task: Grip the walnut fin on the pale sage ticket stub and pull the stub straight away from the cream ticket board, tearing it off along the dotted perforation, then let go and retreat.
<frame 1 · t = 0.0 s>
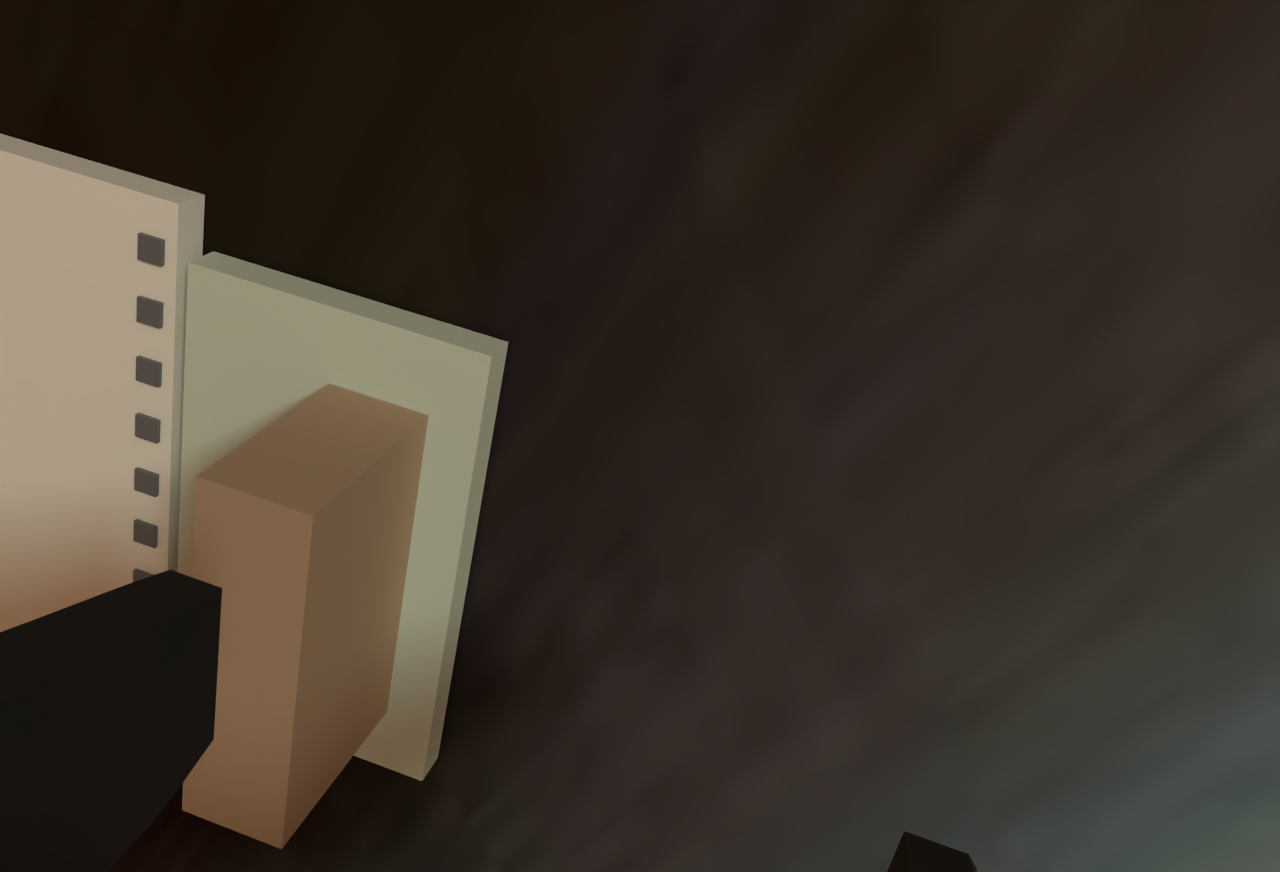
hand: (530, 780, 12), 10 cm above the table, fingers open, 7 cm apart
ticket board: (48, 422, 25), on the table
stub: (268, 583, 22), point 3 cm above the table, slide at 0.0 cm
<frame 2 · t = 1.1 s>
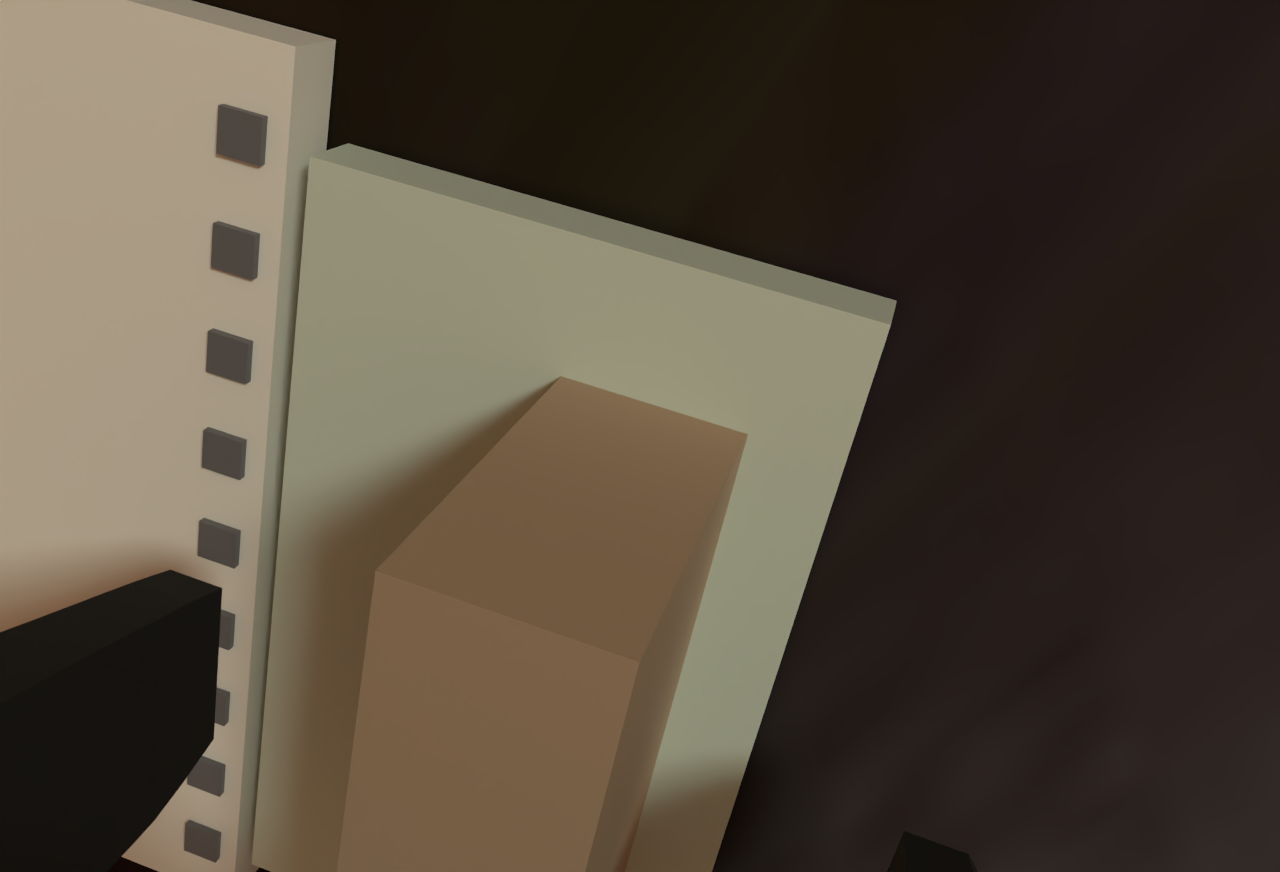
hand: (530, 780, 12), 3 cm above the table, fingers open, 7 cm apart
ticket board: (54, 442, 15), on the table
stub: (450, 734, 12), point 3 cm above the table, slide at 0.0 cm
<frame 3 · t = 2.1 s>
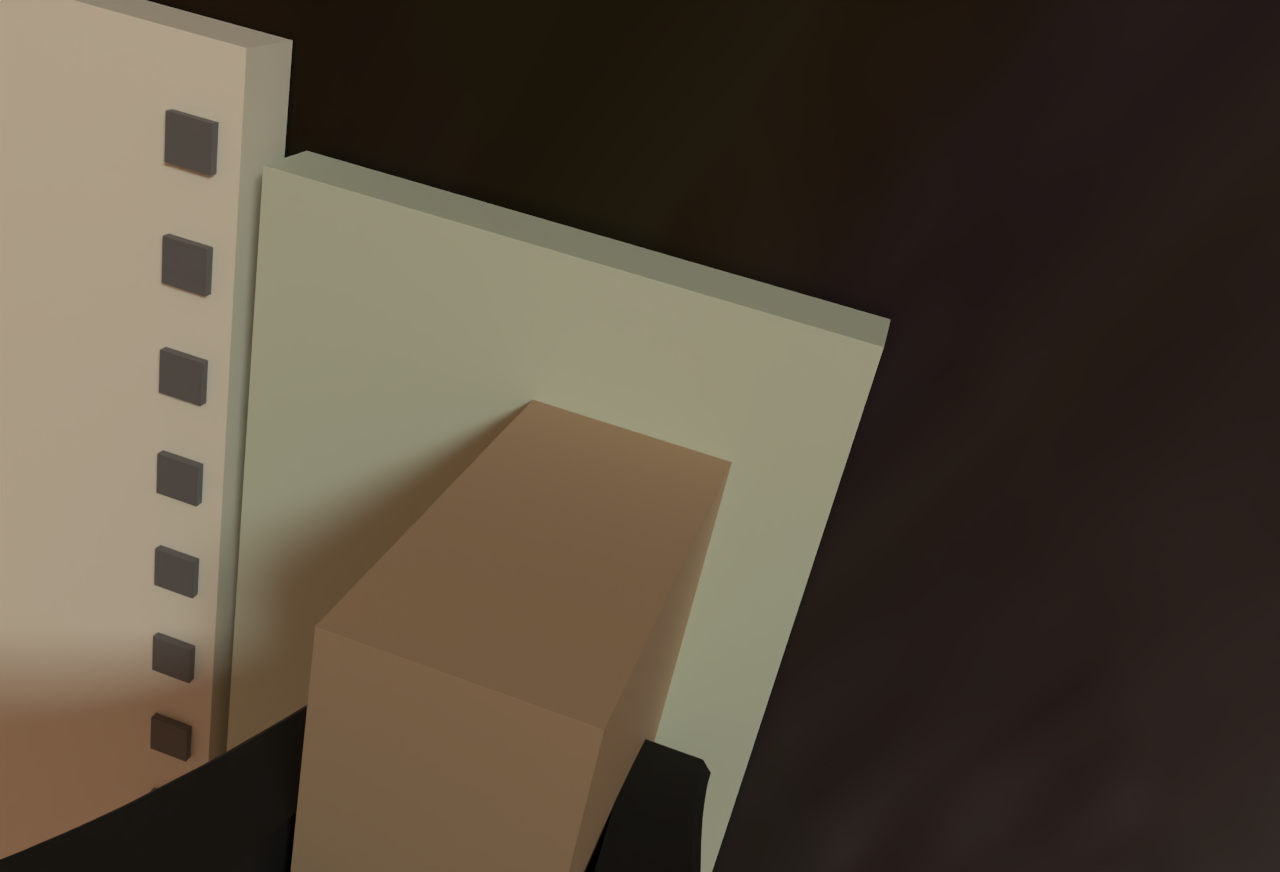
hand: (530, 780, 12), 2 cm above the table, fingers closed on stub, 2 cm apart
ticket board: (6, 462, 15), on the table
stub: (415, 781, 11), point 3 cm above the table, slide at 0.0 cm, touching gripper
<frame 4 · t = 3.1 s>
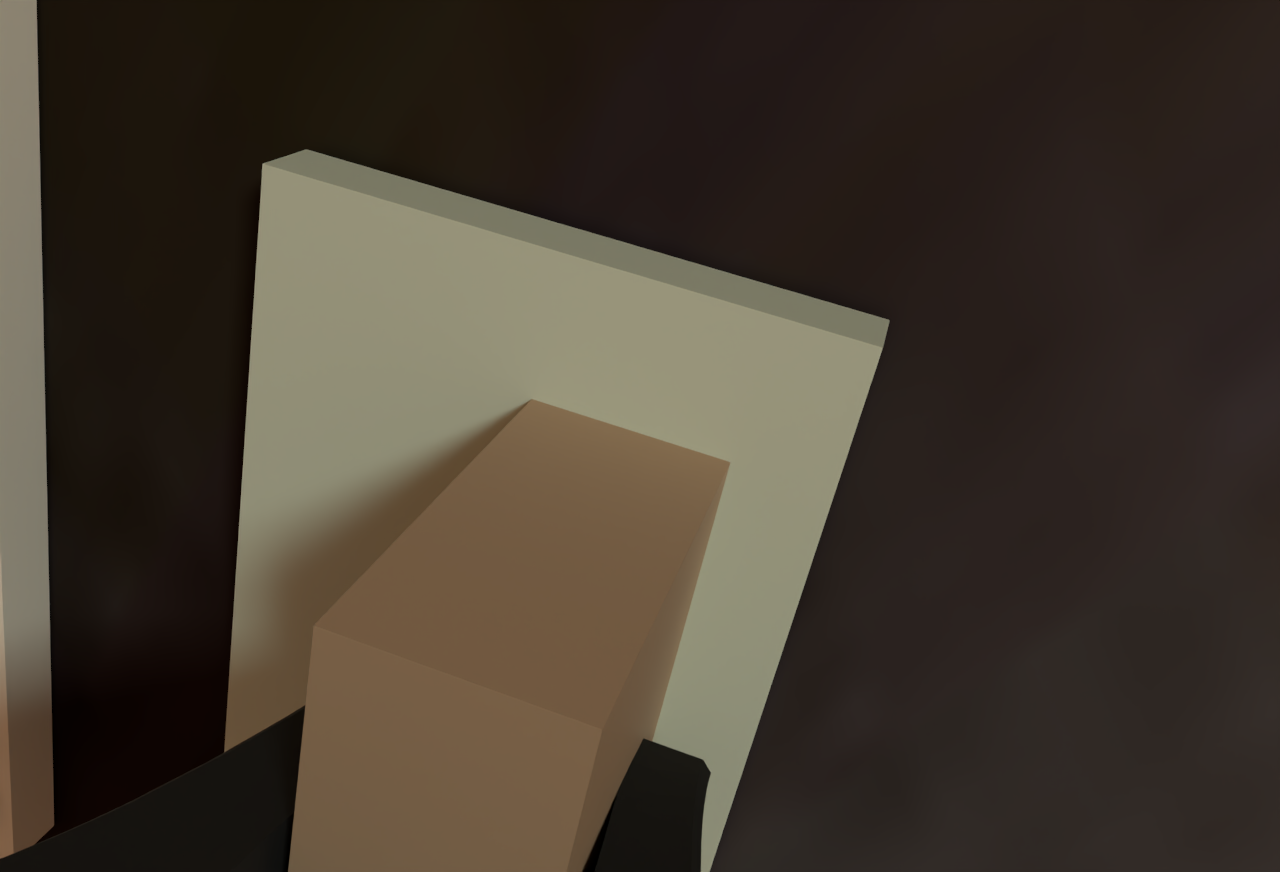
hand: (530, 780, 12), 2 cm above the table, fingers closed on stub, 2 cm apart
stub: (412, 780, 11), point 3 cm above the table, slide at 2.9 cm, touching gripper
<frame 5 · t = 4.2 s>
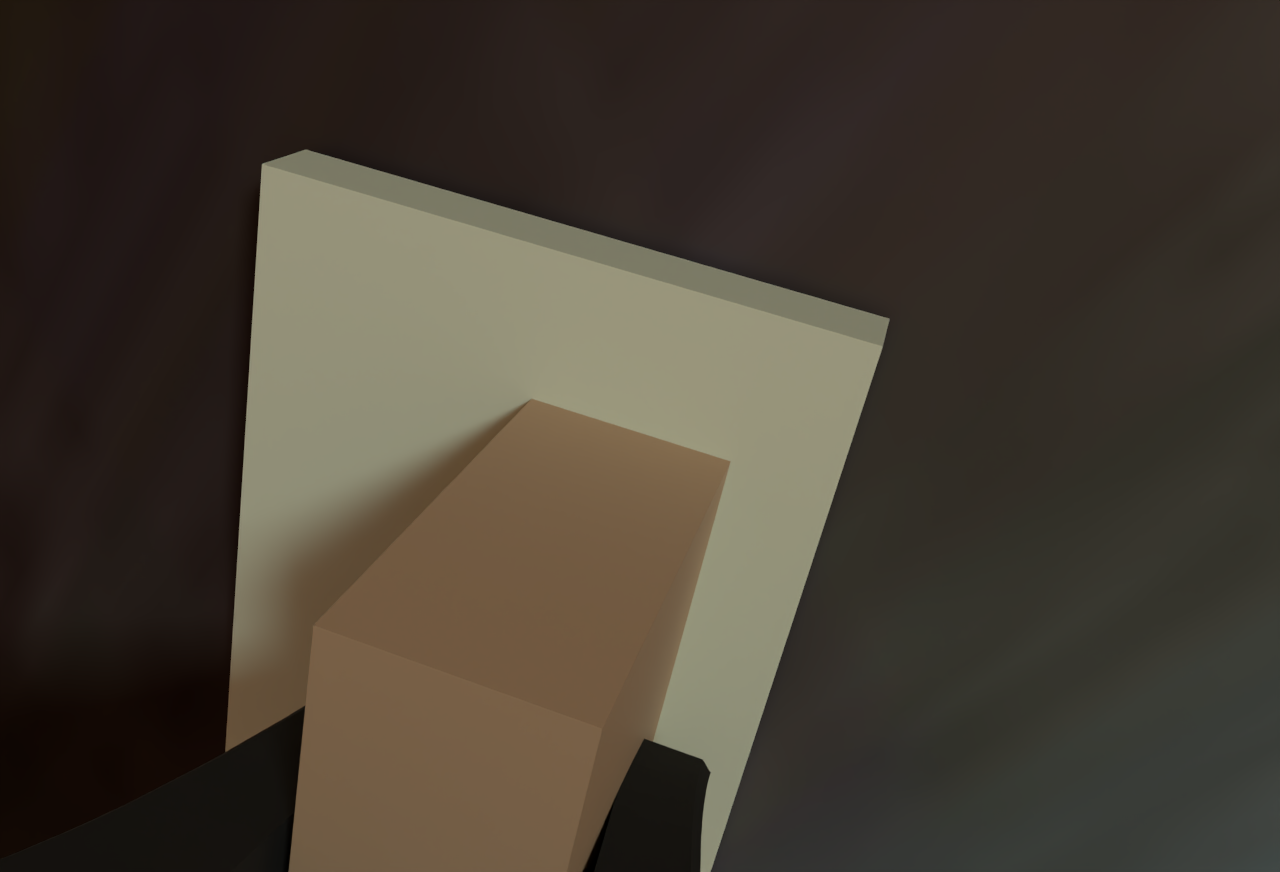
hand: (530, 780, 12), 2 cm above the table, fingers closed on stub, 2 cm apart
stub: (413, 780, 11), point 3 cm above the table, slide at 7.9 cm, touching gripper
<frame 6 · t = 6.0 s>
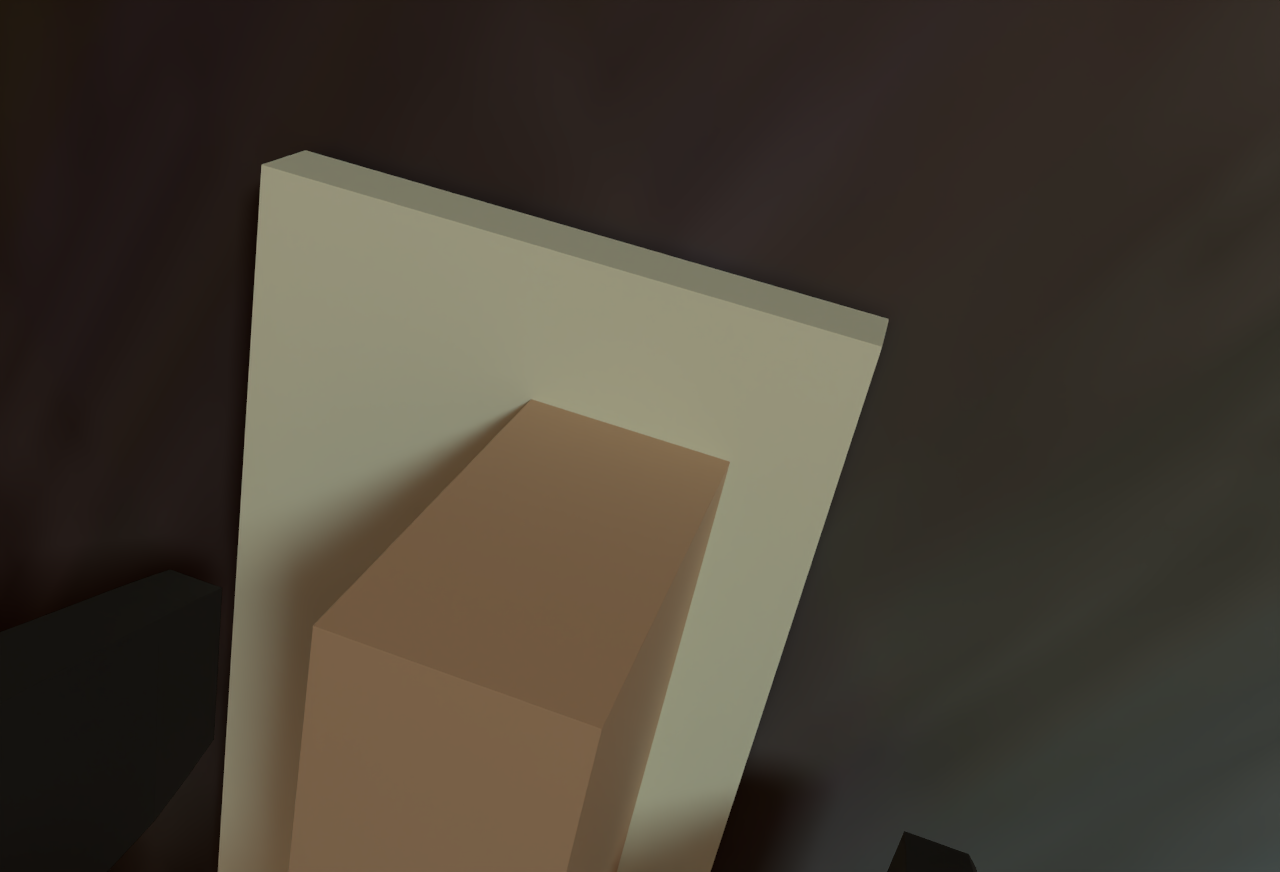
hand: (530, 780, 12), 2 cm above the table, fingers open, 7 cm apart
stub: (413, 780, 11), point 3 cm above the table, slide at 8.0 cm
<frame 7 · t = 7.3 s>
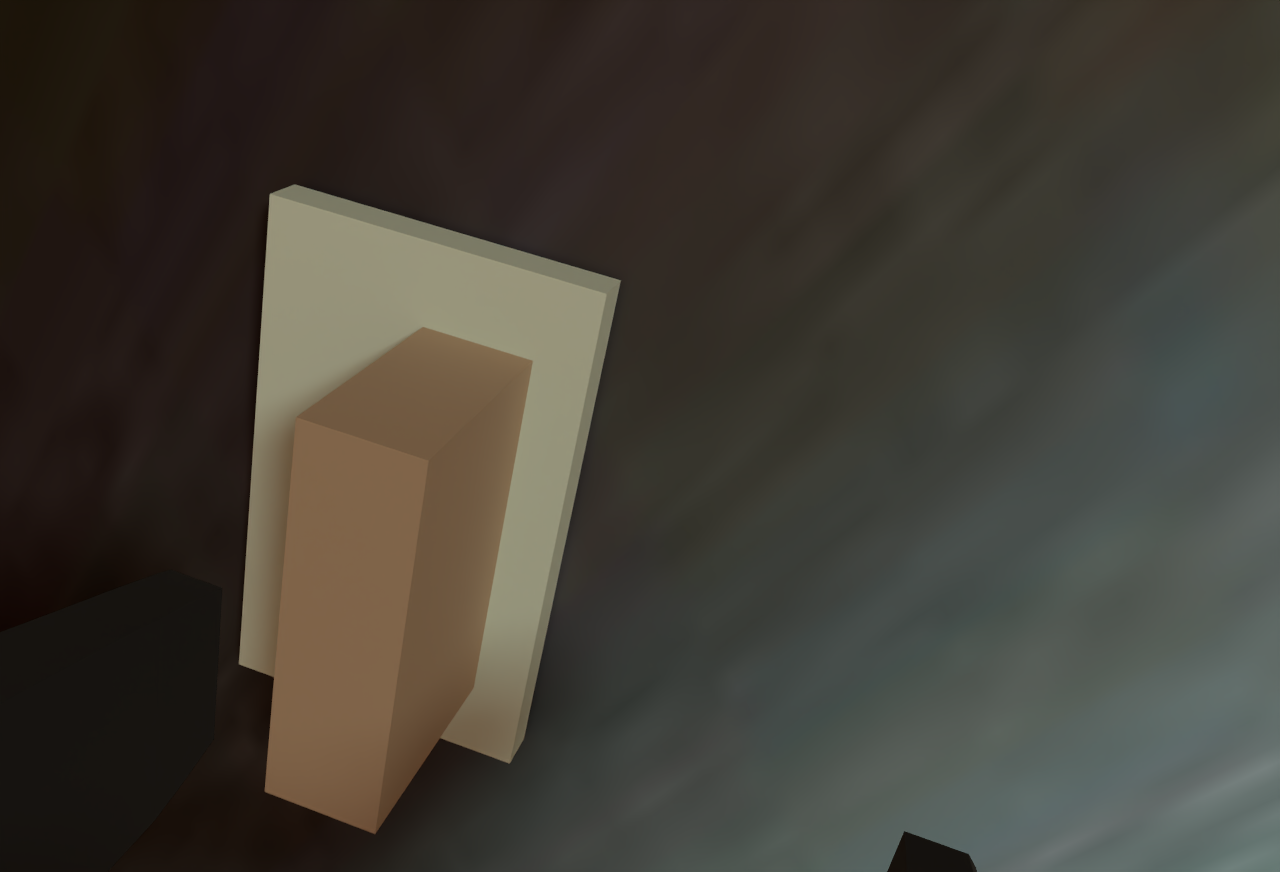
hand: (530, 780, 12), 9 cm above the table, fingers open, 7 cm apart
stub: (356, 544, 20), point 3 cm above the table, slide at 8.0 cm
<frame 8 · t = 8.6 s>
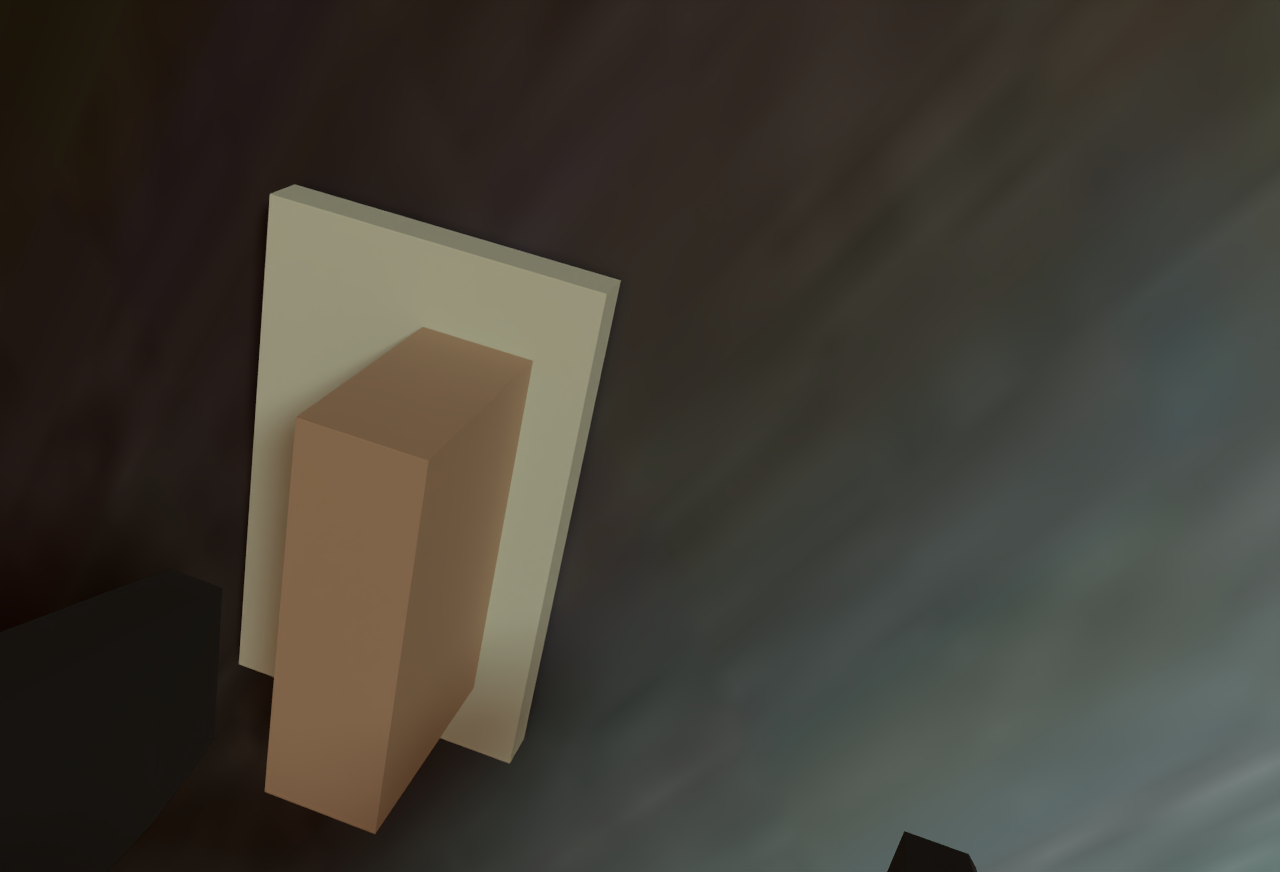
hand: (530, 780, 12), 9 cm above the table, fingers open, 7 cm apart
stub: (356, 544, 20), point 3 cm above the table, slide at 8.0 cm
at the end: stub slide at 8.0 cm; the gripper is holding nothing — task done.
